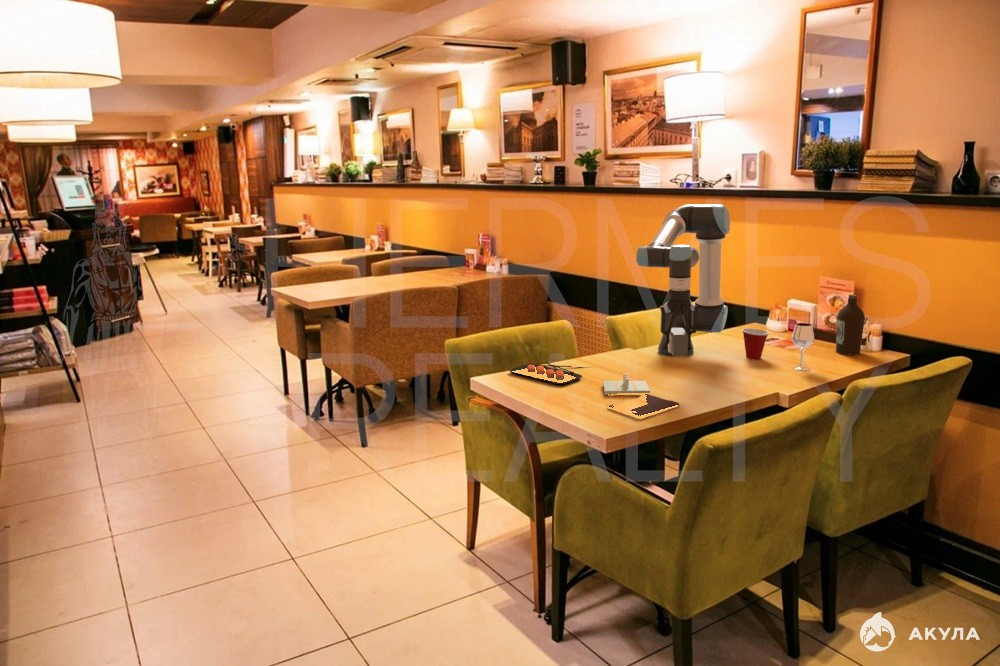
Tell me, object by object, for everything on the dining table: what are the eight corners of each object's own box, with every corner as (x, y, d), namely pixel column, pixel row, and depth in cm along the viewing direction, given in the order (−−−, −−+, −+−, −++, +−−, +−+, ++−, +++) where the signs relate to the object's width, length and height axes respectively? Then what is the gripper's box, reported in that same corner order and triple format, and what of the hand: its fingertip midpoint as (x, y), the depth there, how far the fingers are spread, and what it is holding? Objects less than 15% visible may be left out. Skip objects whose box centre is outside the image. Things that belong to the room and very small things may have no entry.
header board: (602, 386, 271) (603, 372, 270) (645, 385, 270) (645, 371, 269) (605, 396, 260) (605, 381, 258) (649, 395, 258) (650, 381, 257)
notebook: (607, 410, 247) (607, 404, 246) (646, 397, 258) (646, 392, 258) (639, 421, 235) (639, 416, 235) (679, 408, 246) (679, 402, 246)
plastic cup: (771, 361, 297) (773, 333, 294) (745, 361, 297) (746, 333, 294) (762, 354, 307) (764, 327, 305) (737, 354, 308) (738, 327, 305)
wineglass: (805, 372, 280) (808, 327, 276) (785, 368, 286) (788, 324, 282) (815, 368, 285) (819, 324, 281) (796, 364, 291) (799, 321, 287)
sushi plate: (506, 374, 291) (506, 365, 290) (554, 359, 312) (554, 350, 311) (561, 389, 271) (561, 379, 270) (608, 371, 291) (609, 362, 291)
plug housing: (668, 348, 265) (668, 327, 264) (681, 348, 265) (682, 327, 263) (673, 356, 255) (674, 334, 253) (687, 356, 255) (688, 334, 253)
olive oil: (855, 349, 311) (860, 292, 305) (866, 355, 300) (871, 297, 295) (830, 349, 311) (834, 293, 305) (840, 356, 301) (845, 297, 295)
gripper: (655, 291, 251) (654, 355, 257) (707, 290, 250) (705, 354, 256) (652, 287, 259) (651, 349, 264) (702, 286, 258) (700, 348, 263)
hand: (677, 351), depth 260 cm, fingers closed on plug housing, 5 cm apart
